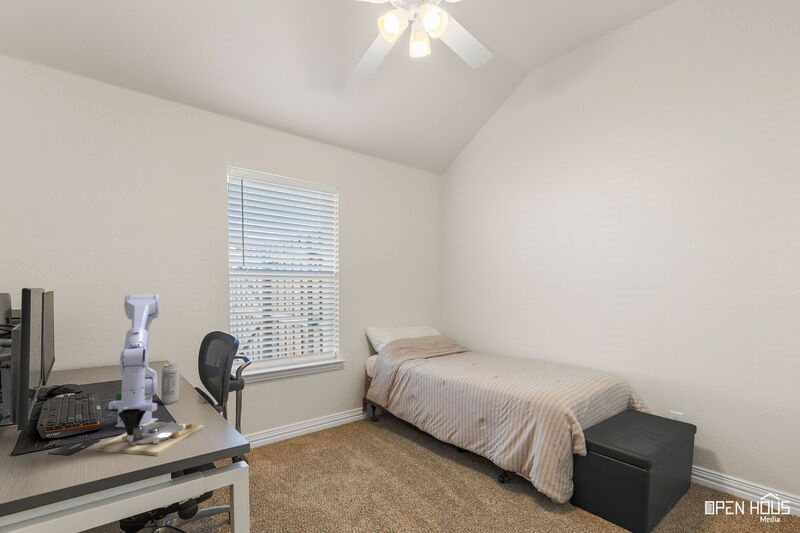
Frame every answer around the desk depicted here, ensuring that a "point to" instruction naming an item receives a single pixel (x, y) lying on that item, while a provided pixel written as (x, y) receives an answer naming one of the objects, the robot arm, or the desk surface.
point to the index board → (150, 448)
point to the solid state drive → (73, 447)
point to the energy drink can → (170, 383)
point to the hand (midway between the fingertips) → (132, 434)
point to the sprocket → (153, 433)
